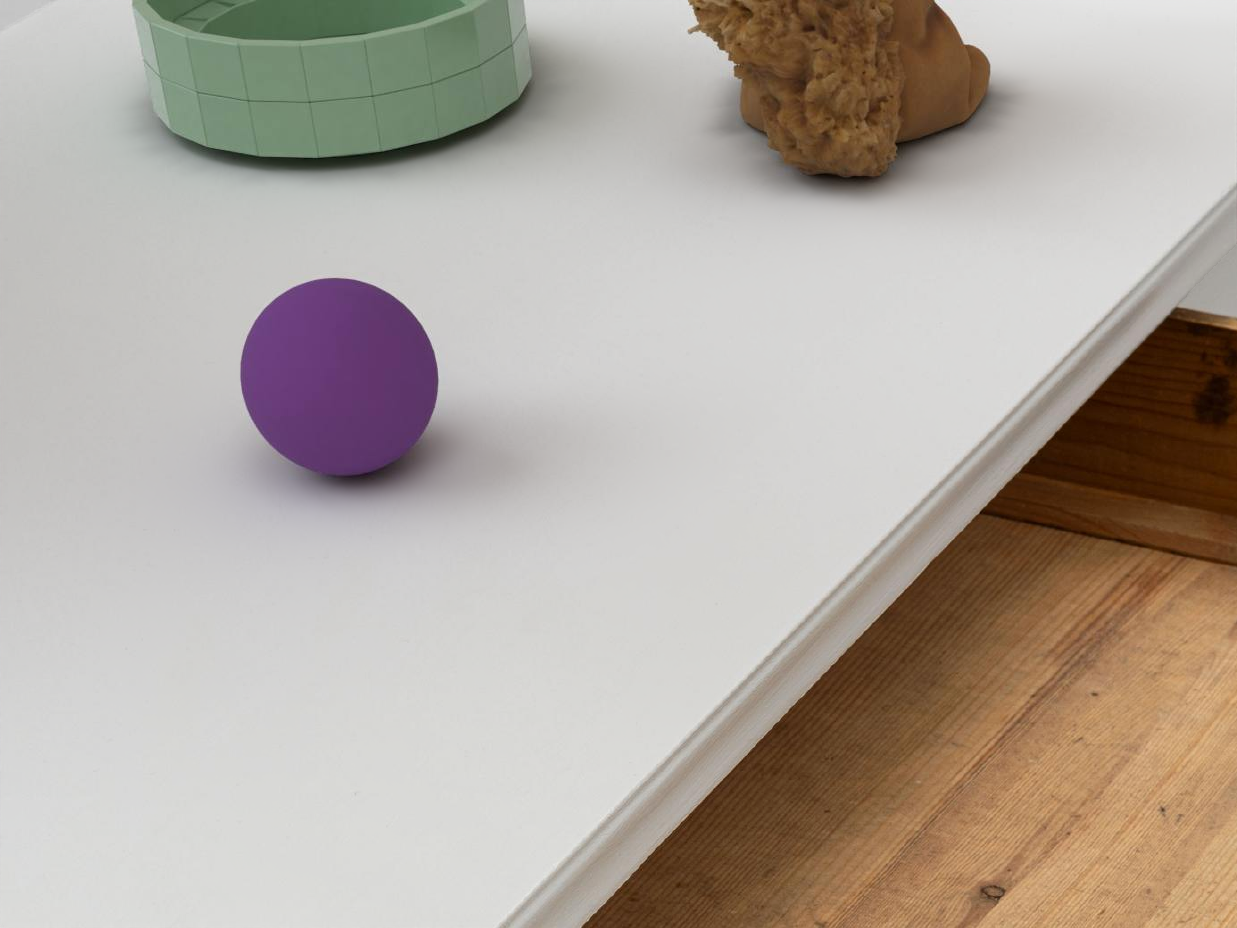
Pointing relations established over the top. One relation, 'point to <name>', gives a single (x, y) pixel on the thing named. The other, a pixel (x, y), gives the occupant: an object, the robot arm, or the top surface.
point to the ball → (339, 376)
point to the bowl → (330, 71)
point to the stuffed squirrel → (845, 76)
